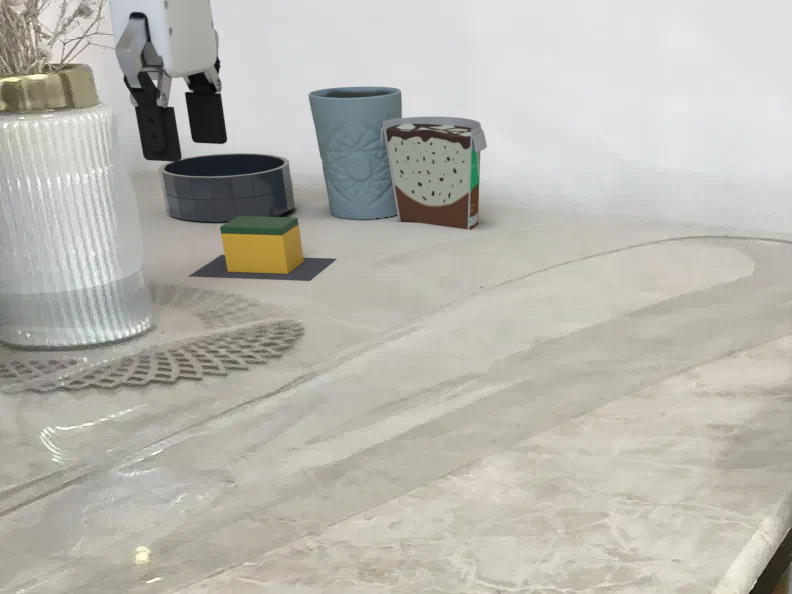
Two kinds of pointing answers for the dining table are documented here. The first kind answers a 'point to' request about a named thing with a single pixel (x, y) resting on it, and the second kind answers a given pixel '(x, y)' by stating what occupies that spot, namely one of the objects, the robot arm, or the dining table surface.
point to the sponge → (262, 244)
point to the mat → (300, 273)
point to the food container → (435, 169)
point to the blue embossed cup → (356, 148)
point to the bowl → (227, 186)
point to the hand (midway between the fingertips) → (187, 151)
